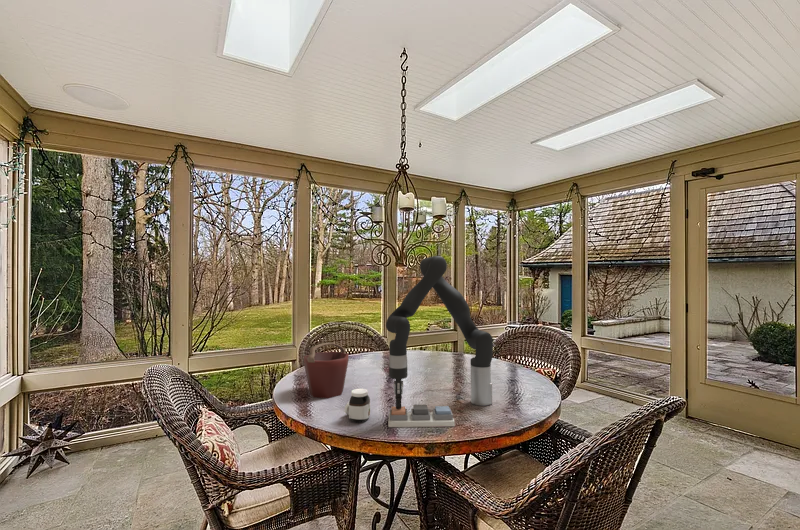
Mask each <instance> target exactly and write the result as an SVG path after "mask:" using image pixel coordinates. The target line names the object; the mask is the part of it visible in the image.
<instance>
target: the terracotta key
mask: <svg viewBox="0 0 800 530" xmlns="http://www.w3.org/2000/svg"><path fill="white" fill-rule="evenodd" d="M391 409H392V415H406V411H405V409H406V406H401V409H396V406H391Z"/></svg>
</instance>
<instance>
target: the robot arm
mask: <svg viewBox="0 0 800 530" xmlns="http://www.w3.org/2000/svg"><path fill="white" fill-rule="evenodd" d="M447 268H448V263H447V261H446V259H445V258H444V257H443V256H441V255H433V256H429V257H425V258H423V259H422V260H421V261H420V264H419V271H420V272H421V274H422V276H423V277H422V278H421V279H420V280H419V282H418V283H417V284H415V285H414V286H413V287H412V288H411V289H410V290H409V292H408V293H407V294H406V296H405V297H404V299H403V300H402V302H401V304H400V305H399V306H398V307H397V308H396V309H395V310H393V312H391V314H389V316H388V318H387V320H386V322H385V328H386V330H387V331H388V332H389V333H392V334H395V337H394V339H391V340H390V342H389V346H388V347H389V349H388V351H389V357H388V376H389V378H390V379H394V380H393V390H394V391H393V393H394V395H395V396H394V399H395V407H396V409H401V407H402V400H403V397H402V395H403V391H404V389H403V388H404V380H403V379H406V378H408V375H409V374H408V356H407V355H408V353H407V351H408V347H407V346H408V345H407V344H408V341H409V337H410V332H411V324H410V321H409V319H408V318H409V317H413V316H414V315H415V314H416V312H417V311H418V309H419V307H420V306H421V304H422V303H423V301H424V299H425V298H426V297H427V295H428V294H429V292H431V290H432V289H433V290H434V291H435V293H436V294H437V296H438V297H439V298H440V300H441V302H442V303H443V305H444V306H445V308H446V310H447V311H448V312H449V315H451V317H452V319H453V321H455V323H456V324H457V326H458V327H459V329H460V331H461V333H462V335H463V337H464V338H465V341H466V343H467V345H468V346H469V347H470V348H471V349H472V350H475V355H474V356H473V357H472V358H471V359H470V403H471V404H472V405H476V406H489V405H493V383H492V372H491V371H492V368H491V367H492V366H491V365H492V360H493V352H494V351H493V350H494V342H493V341H494V340H493V337H492V335H491V333H489V331H488V332H487V331H485V330H481V329H479V328H478V327H477V326H476V324H475V323H474V321H473V320H472V317H471V316H472V315H471V310H470V307H469V304H468V302H467V301H466V299H465V297H464V296H463V293H461V292H460V291H459V290H457V288H455V287H454V286H453V285H451V284H450V283H449V282H447V280H446V279H445V278H444V277H443V275H444V274H445V273H446V271H447Z"/></svg>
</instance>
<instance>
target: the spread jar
mask: <svg viewBox="0 0 800 530" xmlns="http://www.w3.org/2000/svg"><path fill="white" fill-rule="evenodd" d="M350 392H351V396H350V398H349V401H347V403H346V404H345V406H344V410H343V411H344V414H346V415H347V416H348V418H349V420H350V421H351V422H354V423H364V422H367V421H368V420H369V419H370V415H371V398H370V396H369V391H368V389H366V388H355V389H353V390H351V391H350Z"/></svg>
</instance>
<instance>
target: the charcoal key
mask: <svg viewBox="0 0 800 530" xmlns="http://www.w3.org/2000/svg"><path fill="white" fill-rule="evenodd" d="M412 405H413V406H412V407H413V408H412V409H413V411H414V415H428V409H429V408H428V404H412Z"/></svg>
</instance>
